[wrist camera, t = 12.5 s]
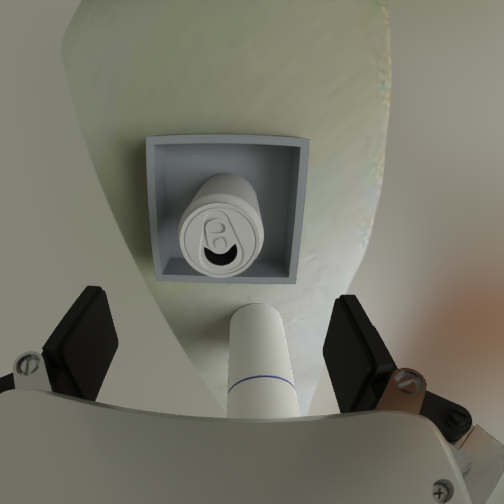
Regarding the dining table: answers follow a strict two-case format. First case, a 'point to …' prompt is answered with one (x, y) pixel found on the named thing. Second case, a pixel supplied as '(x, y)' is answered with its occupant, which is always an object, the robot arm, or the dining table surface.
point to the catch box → (242, 164)
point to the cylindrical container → (259, 366)
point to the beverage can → (222, 227)
